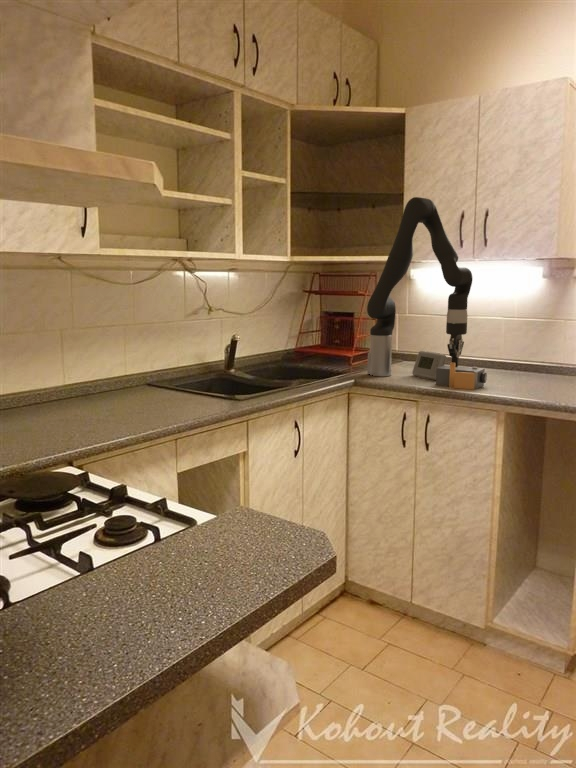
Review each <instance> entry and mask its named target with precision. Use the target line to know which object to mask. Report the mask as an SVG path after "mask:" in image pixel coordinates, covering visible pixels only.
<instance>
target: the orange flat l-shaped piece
mask: <svg viewBox="0 0 576 768" xmlns="http://www.w3.org/2000/svg"><path fill="white" fill-rule="evenodd" d="M449 366H450V376H449V386H448V388H449V389H466V390H467V389H468V390H469V389H470V390H478V389H477V376H478V372H474V373H467V372H455V366H456V363H453V362H452V361H451V362H450V363H449Z"/></svg>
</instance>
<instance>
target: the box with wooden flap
mask: <svg viewBox="0 0 576 768" xmlns="http://www.w3.org/2000/svg"><path fill="white" fill-rule="evenodd" d="M455 372H467V373H474V372H478V376H477V388H478V389H479V388H481V387H483V386H484V385H485V383H487V380H488V379H487V378H488V375H487V372H486V370H485V368H482V367H481V368H480V367H479V368H478V367H477V366H472V367H469V366H458V367H455ZM449 376H450V365H446V364H444V366H441V367H438V368H437V369H436V380H435V385H436V386H447V387H449Z"/></svg>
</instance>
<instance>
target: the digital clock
mask: <svg viewBox="0 0 576 768" xmlns="http://www.w3.org/2000/svg"><path fill="white" fill-rule="evenodd" d="M446 360H447V355H446V354H443V353H440V352H433V351H425V350H420V351H418V354H417V356H416V359H415V363H414V366H413V369H412V372H411V374H412V375H413V376H415V377H418V378H422V379H427V380H431V381H434V380H435V381H436V369H437V368H438V367H441V366H444V365H446V364H445V363H446Z"/></svg>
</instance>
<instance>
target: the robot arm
mask: <svg viewBox="0 0 576 768" xmlns="http://www.w3.org/2000/svg"><path fill="white" fill-rule="evenodd" d="M420 223H421V224H423V225H424V226H425V228H426V229H427V231H428V233H429V235H430V241H431V248H432V252H433V253H434V256H435V257H436V259H437V261H438V262H439V265H440V268H441V273H442V276H443V279H444V281H445V282H446V284H447V285H449V286H450V287H454V291H453V292H452V293H451V294H449V295H448V298H447V299H448V300H447V311H446V312H447V313H446V323H445V325H446V326H445V327H446V328H445V331H446V332H445V333H446V334H447V335H450V337H449V341H448V343H447V345H446V346H447V349H448V354H449V357H451V362H453V363H456V366H455V367H459V358H460V357H461V355H462V351H463V348H464V343H465V341H464V340H463V336H464V335H467V333H468V299H469V296H470V292H471V288H472V285H473V274H472V271H471V269H469V268H468V267H459V266H458V265H457V263H458V261H459V255H458V253H457V251H456V250H455V248H454V245H453V244H452V242H451V241H450V239H449V237H448V235H447V233H446V230H445V228H444V225H443V223H442V220H441V217H440V214H439V212H438V209H437V206H436V205H435V202H434V201H433V200H432V199H429V198H426V197H421V196H420V197H418V196H413V197H411V198H410V199H409V200H408V201H407V202H406V205H405V208H404V209H403V213H402V217H401V221H400V224H399V227H398V231H397V233H396V236H395V239H394V241H393V244H392V246H391V249H390V252H389V253H388V256H387V259H386V261H385V265H384V267H383V270H382V273H381V274H380V277H379V279H378V281H377V284H376V286H375V288H374V290H373V292H372V294H371V296H370V297H369V300H368V302H367V306H366V312H367V313H366V314H367V315H368V316H369V318H371V319H375V320H376V323H375V324H374V325H373V326H371V328H370V332H369V333H370V335H369V352H367V373H366V374H370V375H369V376H372V375H373V376H372V377H389V376H392V353H393V350H392V349H393V331H394V329H395V324H396V310H397V309H396V308H397V307H396V301H394V299H393V298H392V297H390V294H391V292H392V291H393V289H394V288H395V287H396V286H397V285H398V284H399V282H401V280H402V279H403V278H404V277H405V275H406V274H407V272H408V270H409V267H410V265H411V263H412V260H413V258H414V257H413V256H414V244H413V240H414V236H415V235H414V234H415V231H416V229H417V228H418V225H419V224H420Z"/></svg>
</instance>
